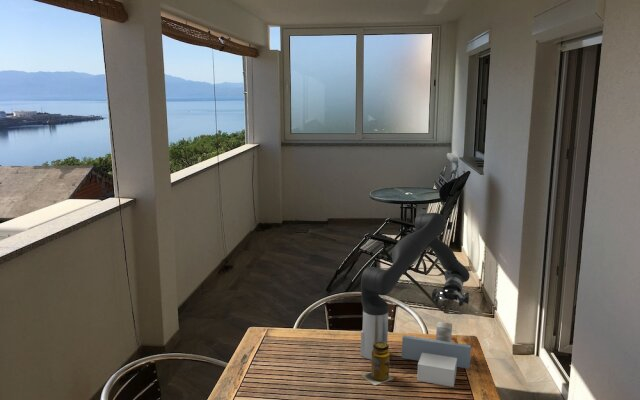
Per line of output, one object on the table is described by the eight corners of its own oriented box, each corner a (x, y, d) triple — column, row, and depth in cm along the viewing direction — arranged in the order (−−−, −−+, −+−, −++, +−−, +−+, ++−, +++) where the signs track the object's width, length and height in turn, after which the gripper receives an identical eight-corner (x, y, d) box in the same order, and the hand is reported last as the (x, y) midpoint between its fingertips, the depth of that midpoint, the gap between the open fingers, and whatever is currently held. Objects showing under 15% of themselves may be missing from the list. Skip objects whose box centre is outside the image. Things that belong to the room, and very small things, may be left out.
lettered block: (435, 357, 199) (436, 327, 196) (436, 351, 203) (438, 321, 201) (448, 360, 197) (450, 329, 195) (450, 353, 202) (452, 323, 200)
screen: (401, 357, 198) (402, 337, 197) (402, 355, 200) (403, 335, 199) (469, 368, 191) (470, 347, 189) (469, 366, 192) (471, 345, 191)
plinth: (417, 380, 182) (417, 364, 181) (421, 368, 191) (422, 352, 190) (453, 387, 178) (454, 370, 177) (456, 374, 187) (457, 358, 186)
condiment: (394, 378, 183) (395, 345, 181) (374, 386, 179) (375, 352, 177) (380, 370, 189) (381, 337, 187) (361, 376, 185) (361, 343, 183)
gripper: (435, 278, 224) (430, 291, 209) (471, 281, 220) (468, 295, 205) (435, 295, 226) (429, 309, 211) (470, 299, 221) (467, 314, 206)
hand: (448, 302), depth 208 cm, fingers open, 8 cm apart
